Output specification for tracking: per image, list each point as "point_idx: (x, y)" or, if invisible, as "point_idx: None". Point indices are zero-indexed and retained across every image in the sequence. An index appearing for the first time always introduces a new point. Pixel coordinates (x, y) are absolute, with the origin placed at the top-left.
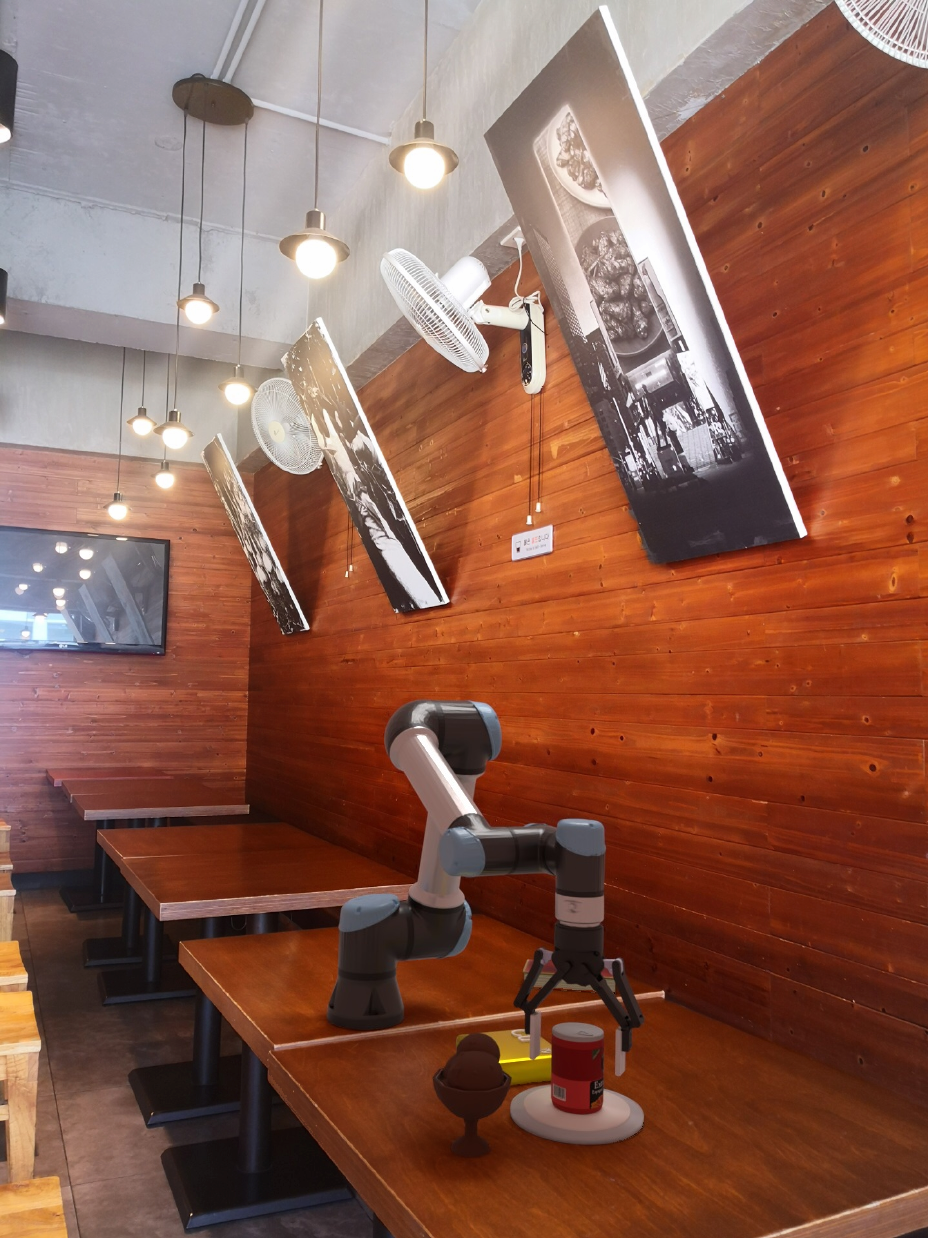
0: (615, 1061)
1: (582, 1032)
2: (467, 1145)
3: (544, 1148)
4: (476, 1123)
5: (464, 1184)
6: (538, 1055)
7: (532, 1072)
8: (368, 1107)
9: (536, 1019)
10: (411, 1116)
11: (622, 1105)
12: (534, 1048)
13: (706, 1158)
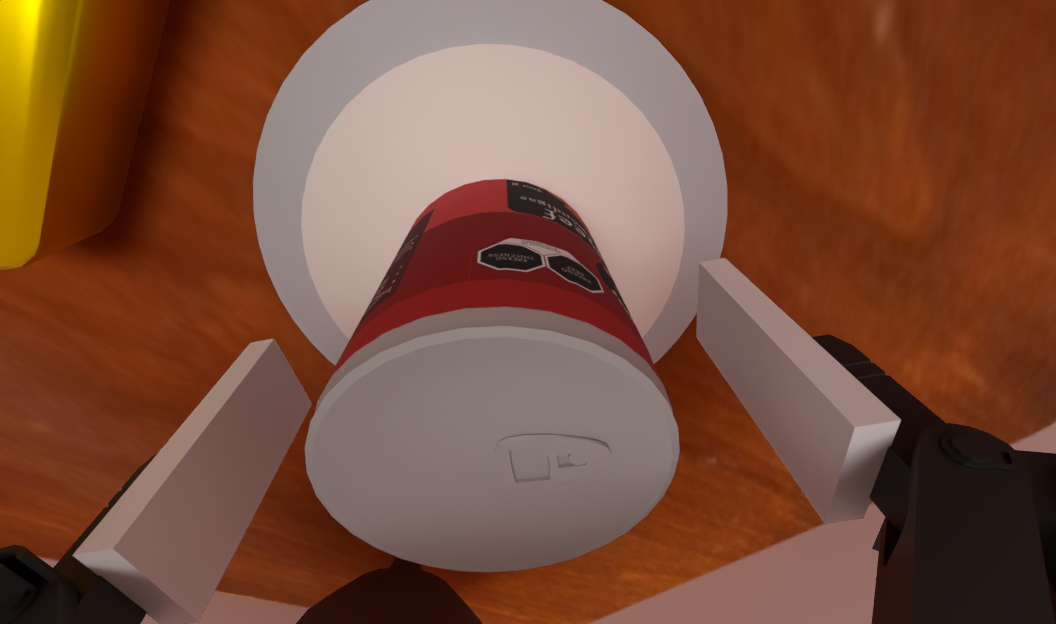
0: (725, 377)
1: (526, 454)
2: None
3: None
4: (421, 570)
5: (496, 582)
6: (285, 360)
7: (120, 68)
8: (85, 510)
9: (198, 570)
10: None
11: (638, 155)
12: (291, 441)
13: (920, 266)
